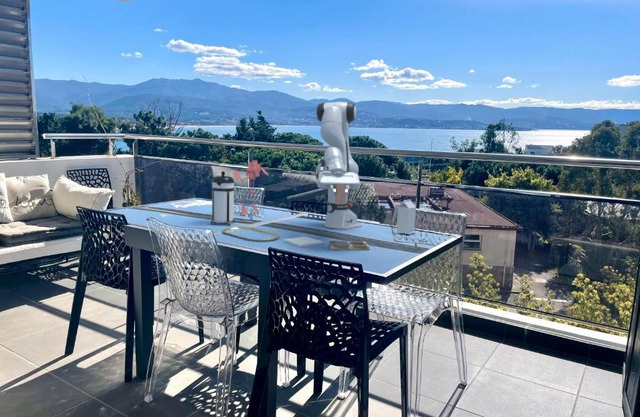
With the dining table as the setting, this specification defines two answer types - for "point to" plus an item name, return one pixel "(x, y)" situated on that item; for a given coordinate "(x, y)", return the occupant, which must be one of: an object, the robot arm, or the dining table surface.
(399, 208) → the milk carton
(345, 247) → the birch puzzle board
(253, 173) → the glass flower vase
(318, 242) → the off-white ceramic tile
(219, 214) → the coffee press
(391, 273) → the dining table surface
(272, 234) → the serving platter
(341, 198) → the terracotta peg block
